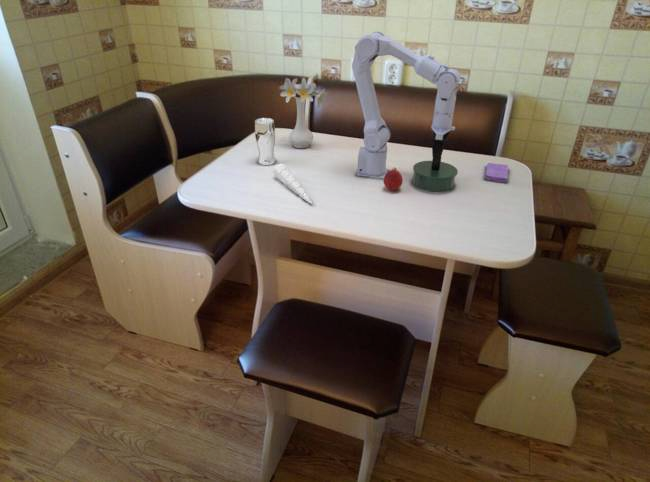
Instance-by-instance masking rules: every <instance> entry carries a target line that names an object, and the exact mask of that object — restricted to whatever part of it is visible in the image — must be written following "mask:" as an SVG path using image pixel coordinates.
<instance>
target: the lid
mask: <svg viewBox="0 0 650 482" xmlns="http://www.w3.org/2000/svg"><path fill="white" fill-rule="evenodd" d="M412 170H413V173H414V172H415V173H417V174H418V175H420V176H423V177H426V178H431V179H449V178H452V177H454V176H455V177H456V176H457V175H458V172H459V171H458V168H457V167H456V166H455V165H452V164H451V163H448V162H445V161H442V157H441V158H440V160H437V159H433V158H432V159H431V160H421V161H418V162H416V163H415V164H413V166H412Z"/></svg>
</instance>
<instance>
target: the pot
mask: <svg viewBox="0 0 650 482" xmlns="http://www.w3.org/2000/svg"><path fill="white" fill-rule="evenodd" d="M455 178H456V176H454V177H452V178H449V179H431V178H426V177H423V176H420V175H418V174H417V173H415V172H414V171H413V175H412V184H413V185H414V186H415V188H417V189H420V190H422V191H426V192H431V193H444V192H448V191H451V190H452V189H453V188H454V186H455Z"/></svg>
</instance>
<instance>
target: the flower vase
mask: <svg viewBox="0 0 650 482" xmlns="http://www.w3.org/2000/svg"><path fill="white" fill-rule="evenodd" d="M297 82H298V78H297V77H296V78H294V79H293V80H292V81H291V80H290V78H288V77H286V78H285V79H284V83H283V85H281V86H279V90H280V91H281V90H282V92H281V93H280V97H283V98H284V97H285V102H286V103H289V102H290V100H291V98H294V99H295V103H296V121H295V122H296V123H295V126H294V128H293V129H292V130H291V132H290V133H289V136H288V139H289V141H290V143H291V144H292V145H293V147H294V148H297V149H306V148H309V147H310V144H311V143H312V142H313V140H314V134H313V132H312V131H311V130H310V129H309V128H308V125H307V122H306V100H307V101H309V102H314V98H313V97H316V109H317V110H319V108H320V105H321V106H323V107H324V105H325V100H324V98H326V97H327V95H328V94H329V92H328V91H326V88H323V90H321V91H318V90H317V83H316V82H313V80H312V79H310V83H308V84H307V80H306V78H305V77H302V79H301V83H298V84H297Z"/></svg>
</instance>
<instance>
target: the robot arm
mask: <svg viewBox="0 0 650 482" xmlns="http://www.w3.org/2000/svg"><path fill="white" fill-rule="evenodd" d="M384 56H391V57H393V58H395V59H397V60H400V61H401V62H403V63H405V64H407V65H409V66H411V67H413V69H414V72H415V74H416V75H417V76H419V77H421V78H423V79H425V80H426V81H428V82H430V83H432V84H433V85H435V86H436V88H437V92H436V95H435V101H434V103H435V104H434V110H433V117H432V124H431V126H430V128H431V130H432V132H433V135H430V136H429V142H430V145H431V153H432V154H431V155H432V160H433V159H437V160H440V158H441V159H442V156H443V152H444V149H445V147H446V145H448V143H449V140H450V138H448V136H449V134H450V133H451V132H452V131H456V126H454V125H453V119H454V113H455V107H456V101H457V93H458V85H459V84H460V82H461V79H462V77H461V74H460V71H459V70H457V69H456V67H453V66H451V67H450V66H449V65H448V64H446V63H445V64H443V63H442V62H440V61H438V60H436V59H435V56H434V55H432V54H430V55H427V54H425V55H422V56H421V55H418V53H415V52H414V51H412V50H411V49H410V48H408V47H406V46H405V45H403V44H402V43H400V42H399V41H397V40H395V39H394V38H392V37H391V36H390V35H387V34H384V33H383V32H381V31H374V32H372V33H370V34H365V35H363V36H361V37H360V38H359V39H358V41H357V42H356V44H355V45H354V54H353V59H352V63H351V69H352V73H353V77H354V82H355V85H356V91H357V94H358V98H359V103H360V106H361V110H362V114H363V118H364V119H363V120H364V126H363V134H364V135H363V136H364V137H363V146H360V147H359V150H358V154H357V166H356V167H357V169H356V176H358V177H365V178H370V177H372V178H380V179H384V177H385V175H386V174H387V173H388V172H389V171H388V170H389V169H388V168H387V158H388V157H387V156H388V145H387V143H388V142H389V141H390V139H391V131H390V128H388V126H387V124H386V121H385V120H384V119H383V117H382V115H381V110H380V106H379V102H378V98H377V97H378V96H377V92H376V89H375V85H374V79H373V75H372V70H371V66H373V64H374V62H375V61H376V59H377V58H378V57H384Z"/></svg>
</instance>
